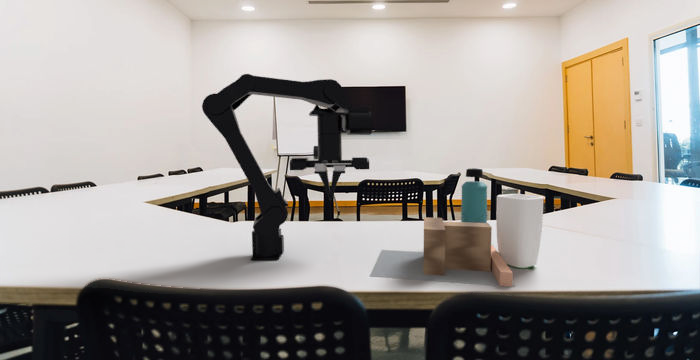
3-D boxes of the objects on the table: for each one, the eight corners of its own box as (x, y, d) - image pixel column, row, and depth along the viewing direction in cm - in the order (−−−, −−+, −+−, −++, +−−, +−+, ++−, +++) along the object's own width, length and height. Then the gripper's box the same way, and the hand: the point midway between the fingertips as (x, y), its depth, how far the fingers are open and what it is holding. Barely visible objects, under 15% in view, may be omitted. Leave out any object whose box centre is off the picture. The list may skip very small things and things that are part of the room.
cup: (522, 273, 67) (524, 199, 66) (491, 263, 73) (493, 195, 72) (544, 267, 70) (547, 196, 69) (513, 258, 77) (515, 193, 75)
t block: (423, 274, 66) (423, 229, 65) (423, 255, 77) (424, 217, 77) (494, 279, 63) (495, 231, 62) (483, 259, 74) (484, 219, 74)
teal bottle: (489, 249, 84) (491, 169, 82) (461, 247, 85) (462, 169, 83) (484, 242, 90) (486, 167, 88) (458, 241, 91) (459, 167, 90)
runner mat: (369, 278, 65) (369, 263, 65) (381, 251, 82) (381, 239, 82) (515, 288, 59) (515, 272, 59) (494, 257, 77) (495, 245, 77)
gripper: (365, 136, 89) (365, 194, 90) (294, 136, 88) (296, 195, 90) (369, 133, 78) (369, 200, 79) (288, 134, 77) (290, 201, 79)
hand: (330, 199), depth 82 cm, fingers closed
